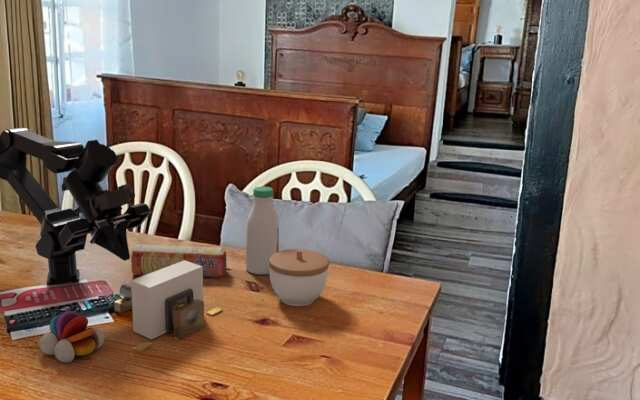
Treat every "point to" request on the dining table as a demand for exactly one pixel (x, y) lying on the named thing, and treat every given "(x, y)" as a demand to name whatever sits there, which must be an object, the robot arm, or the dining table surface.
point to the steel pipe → (183, 315)
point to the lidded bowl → (298, 275)
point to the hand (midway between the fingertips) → (127, 259)
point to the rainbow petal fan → (70, 337)
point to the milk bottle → (261, 232)
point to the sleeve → (164, 296)
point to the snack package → (178, 258)
